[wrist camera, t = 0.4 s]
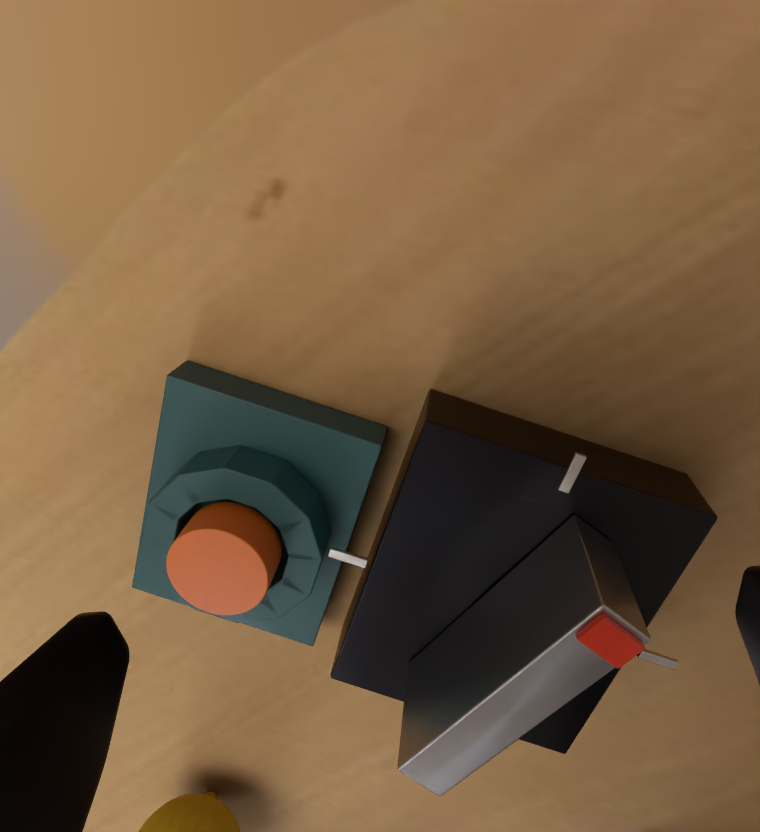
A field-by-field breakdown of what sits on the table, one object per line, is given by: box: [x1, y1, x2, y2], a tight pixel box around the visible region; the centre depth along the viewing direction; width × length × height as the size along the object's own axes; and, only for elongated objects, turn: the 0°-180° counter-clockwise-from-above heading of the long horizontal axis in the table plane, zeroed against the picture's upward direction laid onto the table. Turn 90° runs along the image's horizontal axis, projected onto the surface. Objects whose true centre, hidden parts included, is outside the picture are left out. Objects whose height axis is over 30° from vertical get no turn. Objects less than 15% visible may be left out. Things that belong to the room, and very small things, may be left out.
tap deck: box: [328, 389, 717, 754], centre depth 23 cm, size 13×13×3 cm
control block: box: [132, 361, 387, 646], centre depth 24 cm, size 10×8×4 cm
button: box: [166, 502, 282, 615], centre depth 22 cm, size 4×4×2 cm
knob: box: [397, 515, 651, 796], centre depth 20 cm, size 9×2×5 cm, turn 143°
